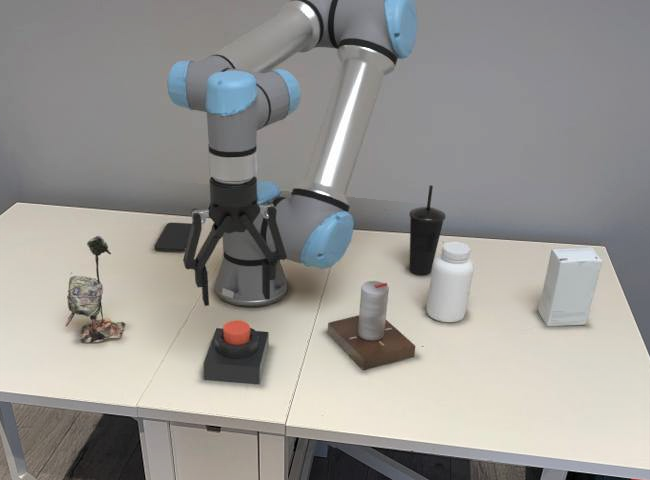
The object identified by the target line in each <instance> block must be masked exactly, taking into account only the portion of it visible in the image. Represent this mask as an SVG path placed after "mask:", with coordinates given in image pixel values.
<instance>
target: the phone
mask: <svg viewBox="0 0 650 480" xmlns="http://www.w3.org/2000/svg"><path fill="white" fill-rule="evenodd" d="M191 226H192V223H187V222H167V223H166V224H165V226H164V228H163V229H162V231H161V233H160V235H159V237H158V239H157V240H156V242H155V243H154V246H153V248H154V250H155V251H160V252H161V251H162V252H176V253H177V252H178V253H179V252H181V253H182V252H185V250H186V246H187V242H188V238H189V234H190V230H191Z"/></svg>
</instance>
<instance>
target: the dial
mask: <svg viewBox="0 0 650 480" xmlns="http://www.w3.org/2000/svg"><path fill="white" fill-rule="evenodd" d="M388 284H389V283H387V282H382V281H378V280H369V281H366V282H363V283H362V284H361V287H360V297H359V311H358V315H359V323H358V335H359V336H360V337H361V338H363V339H365V340H370V341H375V340H379V339H381V338H383V336H384V331H385V321H386V320H387V311H388V302H389V291H390V287H389V285H388Z"/></svg>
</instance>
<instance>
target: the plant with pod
mask: <svg viewBox="0 0 650 480" xmlns="http://www.w3.org/2000/svg"><path fill="white" fill-rule="evenodd" d="M86 245H87V247H88V248H89V250H90V252H91V254H92V255H94V256H95V258H94V259H95V260H94V261H95V267H96V268H95V269H96V271H95V272H96V278H93V277H90V276H83V275H73V276H70V278H69V281H68V289H67V294H68V295H67V296H66V297H67V298H66V299H67V308H68V311H69V312H71V313H70V315H69V317H68V318H67V321H66V322H65V324H64V327H68V326H69V324H70V323H71V321H72V320H73V319H74V316H75V315H78V316H85V317H88V318H89V319H90V321H91V323H86V324H84V325H82V327H81V331H80V332H81V333H80V339H79V341H80V342H82V343H99V342H102V341H104V340H105V339H107V340H110V339H111V338H112V339H114V338H115V339H121V337H123V334H124V333H123V332H124V331H125V326H126V323H125V322H124V321H121V322H120V321H119V322H114V321H112V320H111V318H104V315H103V305H102V298H103V297H102V295H103V294H104V293H103V292H104V289H103V287H104V286H103V283H102V282H101V281H100V274H99V273H100V272H99V256H100V255H101V254H104V253H107V254H108V255H112V252H110V250H109V245H108V244H107V242H106V241H105V239H104V238H103V237H102V236H101V235H96V236H94V237H92V238H90V239H89V240H88V241H87V244H86ZM69 274H70V275H72V274H73V272H70V273H69ZM99 314H100V315H101V319H98V315H99Z"/></svg>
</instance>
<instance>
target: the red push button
mask: <svg viewBox="0 0 650 480" xmlns="http://www.w3.org/2000/svg"><path fill="white" fill-rule="evenodd" d="M222 328H223V336H224V341H225V342H227V343H229V344H235V345H239V344H244V343H247V342H248V341H249V340H250V328H251V326H250V324H249V323H248V322H247V321H245V320H239V319H237V320H230V321H228V322H226V323H224V324H223V327H222Z"/></svg>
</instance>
